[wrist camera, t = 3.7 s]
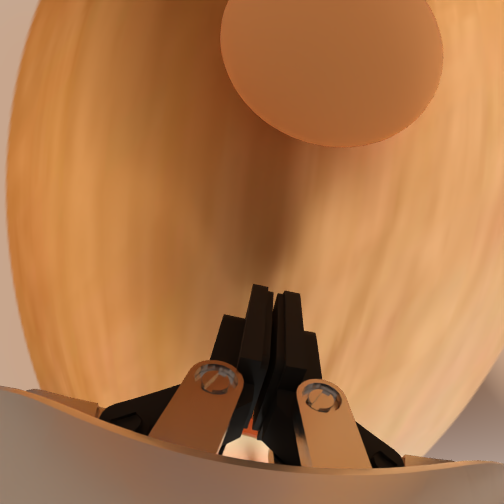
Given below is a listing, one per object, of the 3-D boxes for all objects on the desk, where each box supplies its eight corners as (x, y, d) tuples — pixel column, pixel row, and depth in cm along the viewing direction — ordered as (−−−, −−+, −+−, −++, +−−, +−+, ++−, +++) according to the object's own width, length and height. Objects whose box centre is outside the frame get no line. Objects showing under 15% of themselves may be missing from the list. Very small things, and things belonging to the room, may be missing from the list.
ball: (274, 169, 11) (270, 198, 5) (211, 30, 9) (154, -50, 4) (417, 120, 10) (521, 116, 4) (355, -13, 8) (402, -98, 2)
